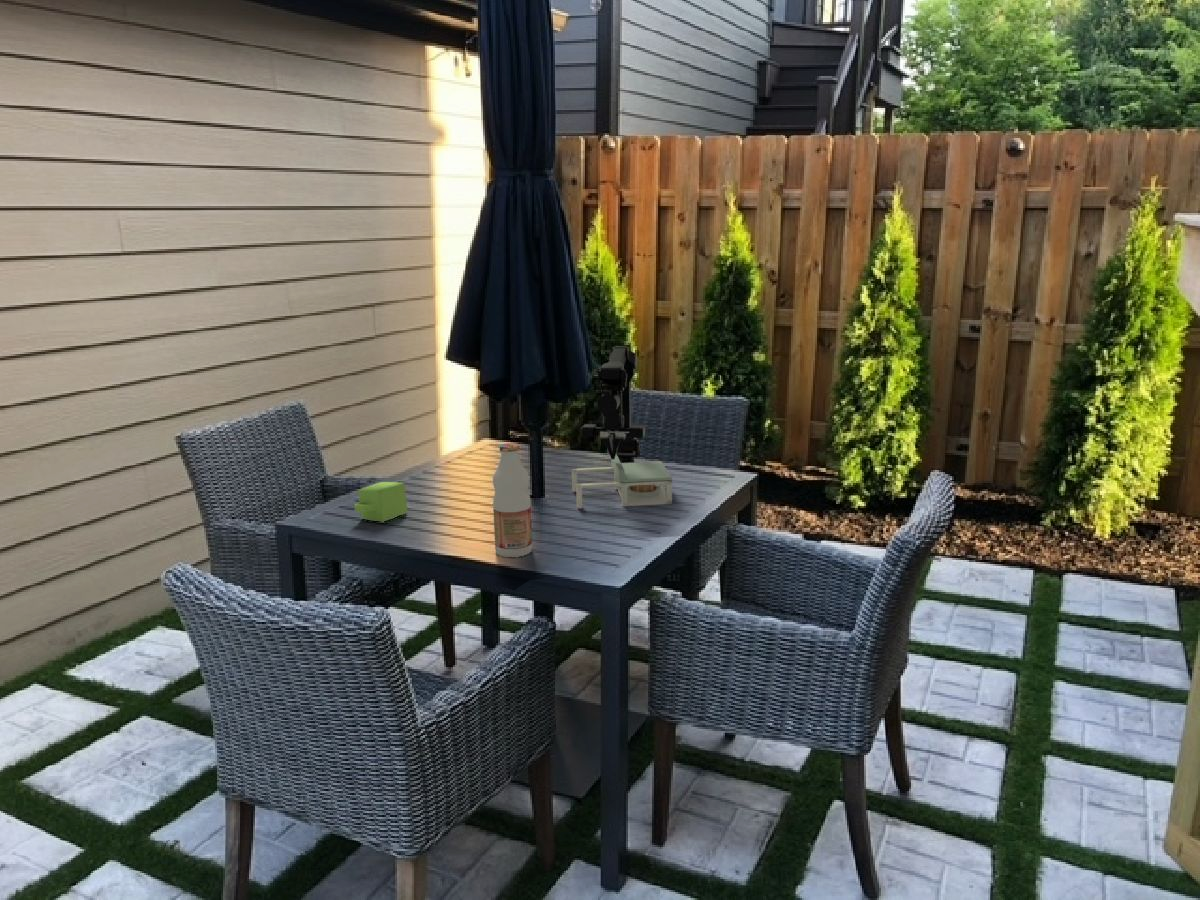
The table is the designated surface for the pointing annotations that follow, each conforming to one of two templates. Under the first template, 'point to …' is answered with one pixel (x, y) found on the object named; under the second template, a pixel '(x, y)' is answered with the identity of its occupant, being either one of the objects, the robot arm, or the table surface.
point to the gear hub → (643, 488)
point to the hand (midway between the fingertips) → (613, 459)
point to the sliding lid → (640, 471)
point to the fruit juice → (511, 505)
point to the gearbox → (382, 501)
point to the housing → (627, 489)
